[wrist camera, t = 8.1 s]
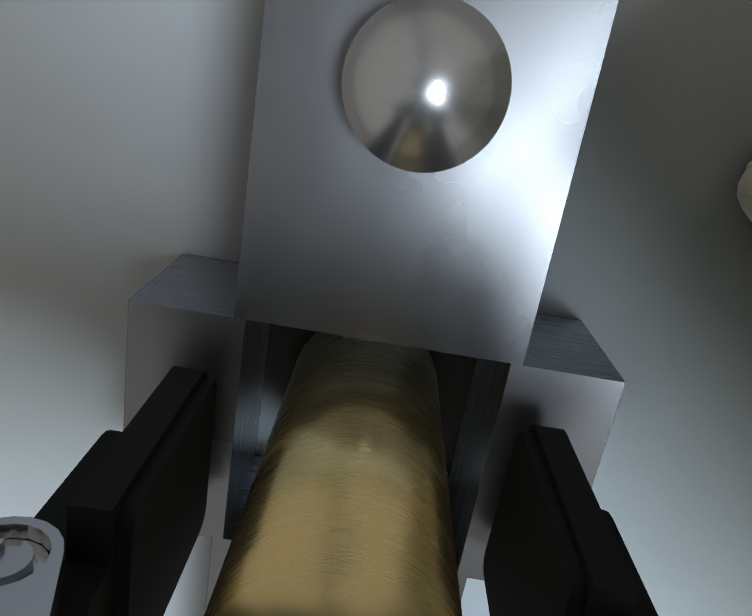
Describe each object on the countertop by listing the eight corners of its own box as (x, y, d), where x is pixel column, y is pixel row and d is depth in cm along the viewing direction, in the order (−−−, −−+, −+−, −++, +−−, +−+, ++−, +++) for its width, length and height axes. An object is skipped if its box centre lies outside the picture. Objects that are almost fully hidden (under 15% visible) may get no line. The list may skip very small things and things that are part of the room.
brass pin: (303, 303, 14) (196, 558, 7) (449, 328, 15) (499, 607, 7) (286, 432, 16) (176, 772, 8) (422, 454, 16) (439, 812, 8)
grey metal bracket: (204, -62, 12) (128, -113, 9) (668, 20, 12) (769, 1, 9) (157, 635, 18) (100, 768, 14) (476, 685, 18) (493, 828, 15)
